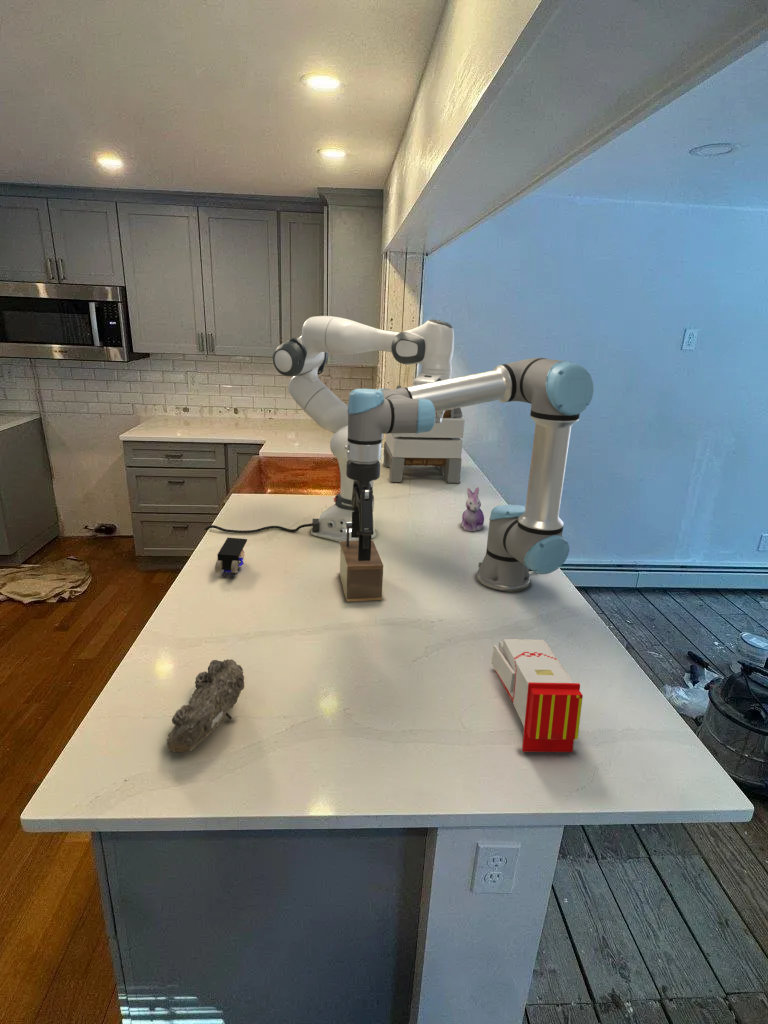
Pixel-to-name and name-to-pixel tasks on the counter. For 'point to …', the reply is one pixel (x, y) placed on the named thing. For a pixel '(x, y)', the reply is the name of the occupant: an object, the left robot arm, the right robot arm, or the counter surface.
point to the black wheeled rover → (230, 556)
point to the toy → (539, 694)
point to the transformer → (428, 448)
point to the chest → (361, 582)
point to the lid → (352, 554)
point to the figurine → (473, 512)
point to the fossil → (206, 705)
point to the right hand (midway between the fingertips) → (360, 548)
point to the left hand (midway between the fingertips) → (432, 425)
